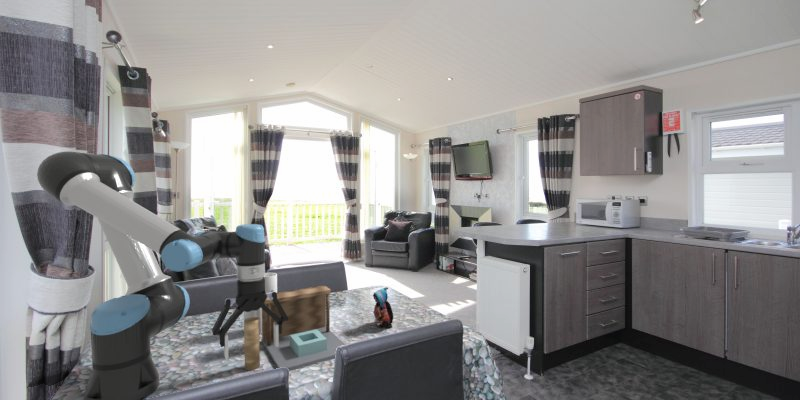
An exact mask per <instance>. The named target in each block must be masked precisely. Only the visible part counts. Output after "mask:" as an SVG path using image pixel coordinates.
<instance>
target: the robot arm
mask: <svg viewBox="0 0 800 400" xmlns="http://www.w3.org/2000/svg"><path fill="white" fill-rule="evenodd" d="M36 177H37V181H38V183H39V185H40V186H41V189H43V190H44V192H45V193H47V195H49V196H50V197H53V198H54V199H55V200H56V201H59V202H61V203H63V204H64V205H65V206H70V207H72V206H76V207H78V208H80V209H82V210H83V211H84V212H86V213H87V214H90V215H92V216H93V217H95V218H97V221H98V222H99V224H100V227H101V229H102V231H103V233H104V236H105V238H106V240H107V242H108V245H109V247H110V249H111V251H112V254H113V255H114V257H115V260H116V262H117V264H118V267H119V269H120V271H121V273H122V276H123V278H124V280H125V282H126V284H127V287H128V289H127V290H126V293H125V295H121V296H120V297H113V298H111V299H108V300H106V301H104V302H102V303H101V304H99V305H97V306H96V307H95V308H94V309H93V311H92V313H91V320H90V324H89V330H90V341H91V343H90V344H91V362H92V363H91V365H92V369H91V373H90V375H89V378H88V381H87V384H86V386H85V389H84V392H83V400H138V399H141V398H143V397H145V398H146V397H148V396H150V395H151V394H152V393H154V392H155V391H156V390H157V389H158V387H159V385H160V372H159V370H158V368H157V366H156V364H155V362H154V360H153V358H152V354H151V353H152V352H151V339H153V337H155V336H157V335H158V334H160V333H162V332H164V331H165V330H167V329H169V328H170V327H171V328H172V327H173V326H175V325H176V324H177V323H178V322H180V321H181V320H182V319H183V318H184V317H186V315H187V313H188V310H189V308H190V304H191V303H190V302H191V301H190V295H189V293H188V291H187V290H186V288H184V287H183V286H180V284H178V283H174V280H173V278H172V276H169V275H166V274H164V273H163V272H162V269H161V267H160V265H159V263H158V260H157V257H156V256H155V253H157V254H158V255H160V256H161V257H160V258H161V261H162V263H163V265H164V267H165V268H166V269H168V270H170V271H172V272H184V271H188V270H192V269H194V268H196V267H198V266H200V265H203V264H206V263H209V262H211V261H214V260H217V259H236V279H237V281H236V297H233V298H229V297H227V296H226V297H225V298H224V303H223V307H222V309H221V311H220V313H219V315H218V317H217V319H216V321H215V323H214V325H213V328H212V329H211V333H212V335H213V336H219V346H220V348H223V355H224V358H225V360H228V359H229V334H228V331H229V330H230V329H231V327H232V326H233V325H234V324H235V322H236V321H237V320H238V318H239V317H240V316H241V315H243V314H244V311H245V312H250V311H252V310H253V311H256V310H258V309H260V308H262V309H263V310H264V311H265V312H266V313H267V314H269V315H270V316H271V317H272V318H273V319H274V320H275V321H276V322H277V323H276V322H274V345H275V346H276V347H279V334H281V333H282V324H283V322H284V321H287V320H288V317H287V315H286V313H285V312H284V310H283V308H282V306H281V305H280V303H279V301H278V299H277V293H278V292H277V293H276V292H275V291H274V290H272V291H271V292H269V293H266V292H265V278H264V276H265V273H266V263H265V262H266V257H265V255H266V254H265V253H266V251H265V250H266V238H265V229H264V226H263V225H262V224H259V223H258V224H256V223H249V224H248V223H246V224H240V225H237V226H236V228H235V231H212V230H207V231H198V232H195V234H194V235H192V234H189V233H188V232H186V231H184V230H182V229H181V228H179V227H178V226H176V225H174V224H172V223H171V222H169V221H167V220H166V219H164V218H162V217H161V216H158V215H157V214H155V213H154V212H152V211H150V210H149V209H147V208H145V207H143V206H142V205H141V204H139V203H137V202H135V201H134V200H132V197H133V196H134V194H135V193H134V191H133V187H134V185H135V183H134V182H135V181H136V176H135V172H134V169H133V167H132V166H131V165H130V164H129V163H128V162H127V161H126V160H124V159H122V158H120V157H117V156H113V155H110V154H103V153H101V154H100V153H99V154H95V153H87V152H86V153H85V152H77V151H59V152H56V153H53V154H51V155H49V156H47V157H46V158H45V159H43V160H42V162H41V163H40V164H39V165H38V167H37V174H36ZM154 252H155V253H154ZM267 297H269V299H270V300H272V301H273V303H274V304H275V306H276V308H277V309H278V311H279V313H280V315H281V317H280V318H279V317H278V316H277V315H276V314H275V313H274V312H273V311H271V310H270V309H269V308H268V307H267V306H266V305H265V304H264V302H265V300H266V299H267ZM235 303H236V305H237V307H236V308H235V310H234V311H233V312H232V314H231V315H230V316H229V318H228V319H227V320H226V321H225V319H226V317H227V315H228V314H229V311H230V309H231V307H233V305H234V304H235ZM224 322H225V323H224ZM153 391H154V392H153ZM150 393H151V394H150ZM143 399H144V398H143ZM141 400H142V399H141Z"/></svg>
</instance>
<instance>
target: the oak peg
mask: <svg viewBox="0 0 800 400" xmlns="http://www.w3.org/2000/svg"><path fill="white" fill-rule="evenodd" d="M243 334H244V337H243V339H244V340H243V341H244V370H245V371H256V370H257V369H258V368H259V367H260V366H261V365H260V360H261V359H260V353H261V352H260V335H259V318H258V317H249V318H246V319H245V320H244V319H243ZM259 369H260V368H259Z"/></svg>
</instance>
